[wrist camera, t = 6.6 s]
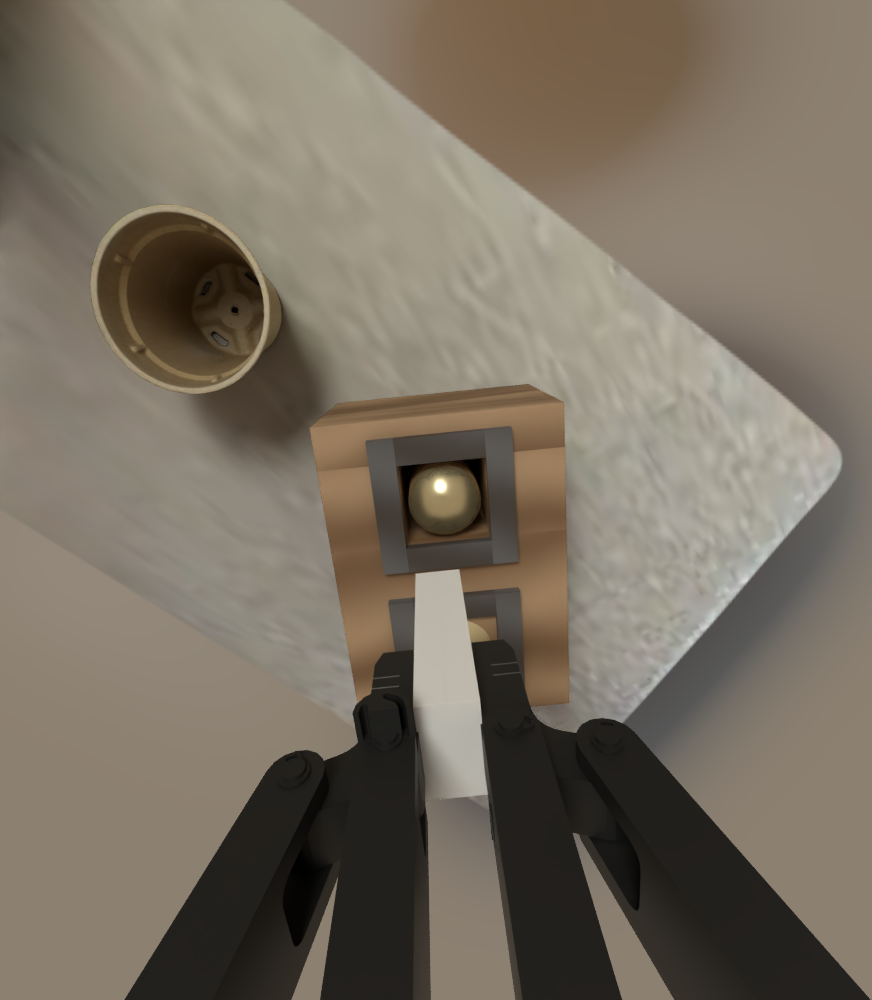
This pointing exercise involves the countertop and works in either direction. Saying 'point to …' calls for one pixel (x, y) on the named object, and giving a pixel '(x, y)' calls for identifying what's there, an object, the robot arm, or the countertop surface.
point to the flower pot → (182, 299)
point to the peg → (444, 496)
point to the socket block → (474, 550)
